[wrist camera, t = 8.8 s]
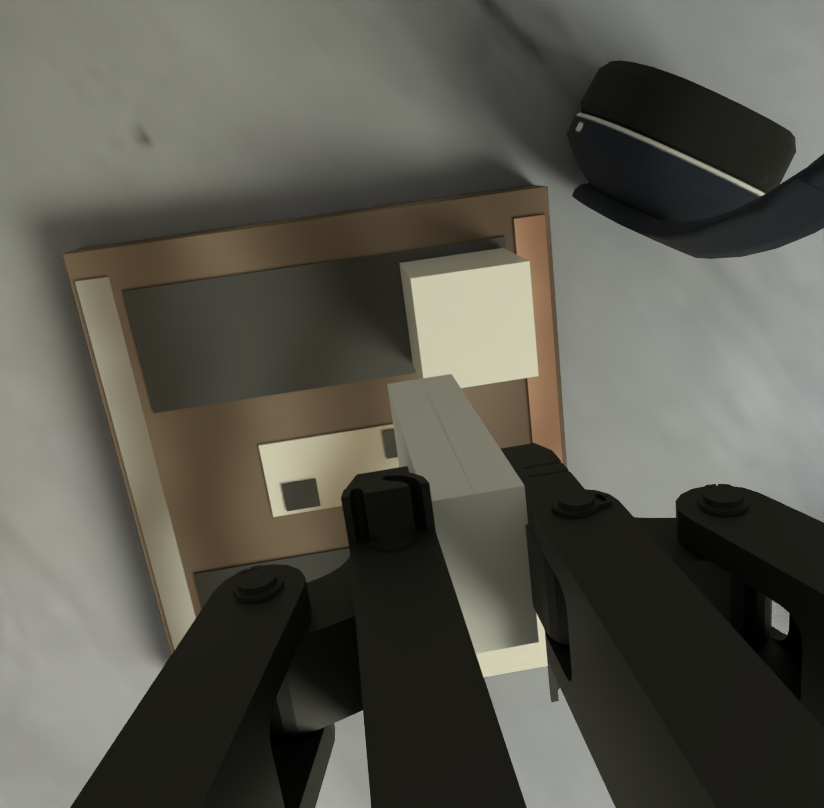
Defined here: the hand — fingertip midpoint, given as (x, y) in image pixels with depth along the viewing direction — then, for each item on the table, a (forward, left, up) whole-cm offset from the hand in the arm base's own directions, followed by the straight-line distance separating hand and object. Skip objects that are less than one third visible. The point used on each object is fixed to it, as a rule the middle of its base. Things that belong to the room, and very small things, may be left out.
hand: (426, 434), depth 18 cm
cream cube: (+3, 0, -13) cm, 13 cm away
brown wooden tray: (-2, -6, -15) cm, 16 cm away
